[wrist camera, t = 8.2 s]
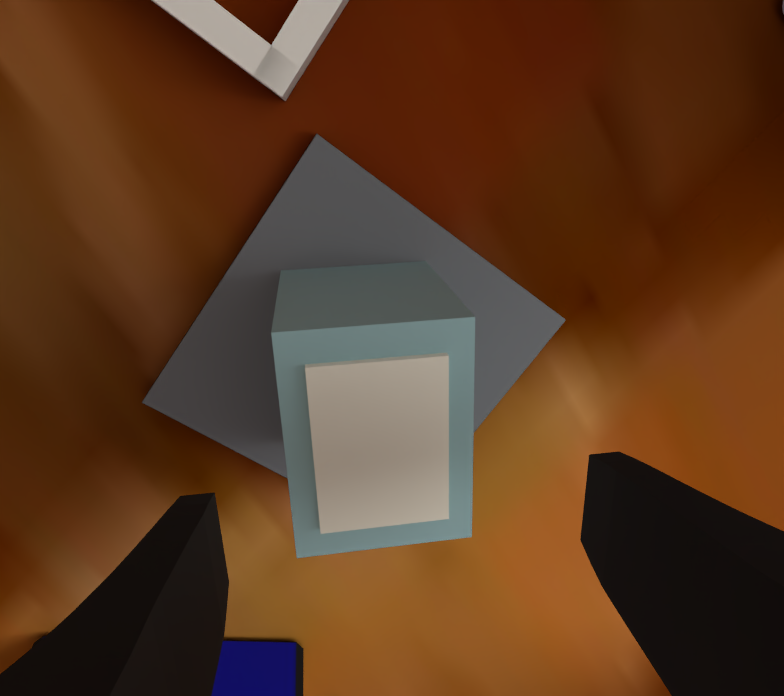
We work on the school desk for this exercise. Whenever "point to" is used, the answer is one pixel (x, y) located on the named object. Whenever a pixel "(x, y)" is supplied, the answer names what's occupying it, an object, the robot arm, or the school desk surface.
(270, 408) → the charcoal mat
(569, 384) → the school desk surface
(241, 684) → the puzzle cube
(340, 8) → the parts bin
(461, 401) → the teal labelled box
